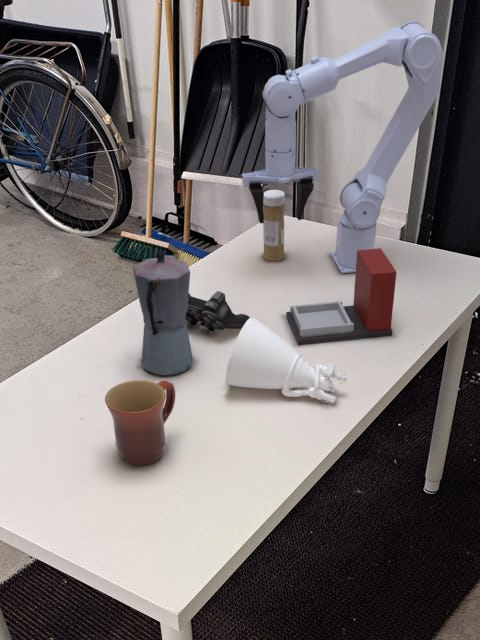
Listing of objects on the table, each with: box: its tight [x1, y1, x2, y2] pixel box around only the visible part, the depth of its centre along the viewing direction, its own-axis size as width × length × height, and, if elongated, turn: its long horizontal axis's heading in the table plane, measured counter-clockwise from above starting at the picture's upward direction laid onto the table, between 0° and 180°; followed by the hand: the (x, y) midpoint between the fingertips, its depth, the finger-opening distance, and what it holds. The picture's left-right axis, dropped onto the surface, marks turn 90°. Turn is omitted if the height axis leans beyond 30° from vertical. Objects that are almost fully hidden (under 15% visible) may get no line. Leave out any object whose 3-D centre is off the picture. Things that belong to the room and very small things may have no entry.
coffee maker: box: [285, 248, 397, 346], centre depth 154 cm, size 11×17×12 cm, turn 99°
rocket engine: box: [225, 316, 349, 405], centre depth 139 cm, size 12×12×18 cm
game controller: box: [185, 290, 251, 335], centre depth 156 cm, size 16×7×10 cm, turn 55°
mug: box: [104, 379, 176, 466], centre depth 127 cm, size 12×9×10 cm
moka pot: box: [132, 250, 194, 376], centre depth 142 cm, size 10×15×20 cm, turn 174°
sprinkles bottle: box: [262, 189, 286, 262], centre depth 176 cm, size 5×5×13 cm
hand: (280, 219), depth 169 cm, fingers open, 7 cm apart
